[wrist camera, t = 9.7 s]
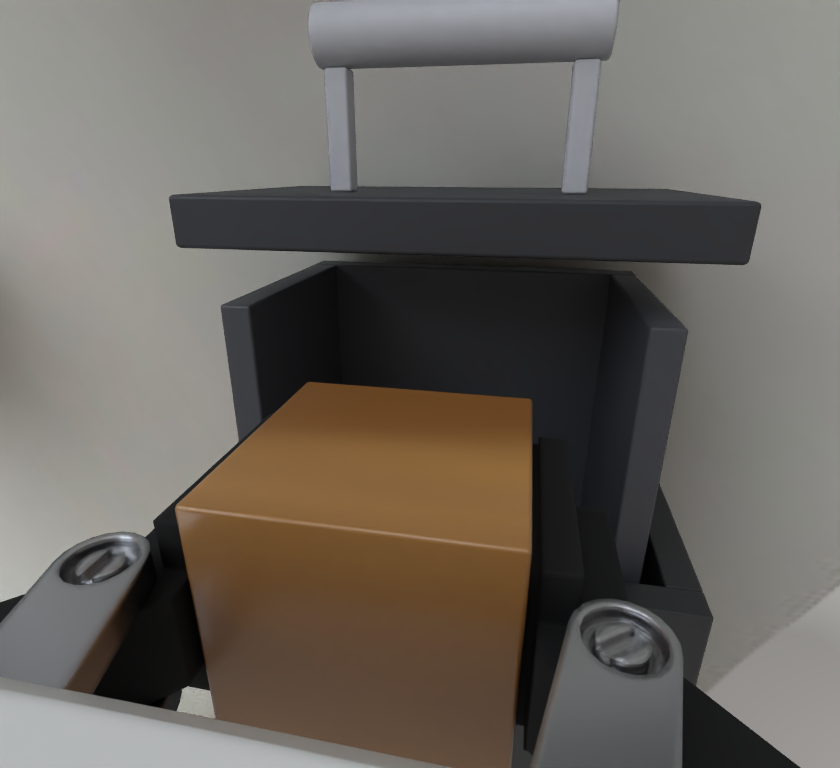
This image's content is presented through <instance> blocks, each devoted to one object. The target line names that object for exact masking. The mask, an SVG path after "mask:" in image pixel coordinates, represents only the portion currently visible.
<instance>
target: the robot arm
mask: <svg viewBox="0 0 840 768" xmlns="http://www.w3.org/2000/svg"><path fill="white" fill-rule="evenodd" d="M273 414H274V413H271V414H269V415H268V416H267V417H266V418H265V419H263V420H262V421H261V422H260V423H259V424H258V425H257V426H256V427H255V428H254V429H253V430H251V431H250V432H249V433H248V434H247V435H246V436H245V437H244V438H243V439H242V440H241V441H240V442H238V443H237V444H236V445H235V446H234V447H233V448H232V449H231V450H230V451H229V452H228V453H226V454H225V455H224V456H223V457H222V458H221V459H220V460H219V461H218V462H217V463H216V464H215V465H213V466H212V467H211V468H210V469H209V470H208V471H207V472H206V473H205V474H204V475H203V476H201V477H200V478H199V479H198V480H197V481H196V482H195V483H194V484H193V485H192V486H191V487H190V488H188V489H187V490H186V491H185V492H184V493H183V494H182V495H181V496H180V497H179V498H178V499H176V500H175V501H174V502H173V503H172V504H171V505H170V506H169V507H168V508H167V509H166V510H165V511H163V512H162V513H161V514H160V515H159V516H158V517H157V518H156V519H155V520H154V521H153V522H154V527H155V529H154V530H153V531H151V532H150V533H149V534H148V535H147V536H146V537H144V536H142V535H139V534H136V533H131V532H115V533H107V534H103V535H100V536H96V537H92V538H90V539H88V540H85V541H83V542H81V543H78V544H76V545H75V546H73V547H71V548H70V549H68V550H67V551H65V552H64V553H63V554H61V555H60V556H59V557H58V558H57V559H56V560H55V561H54V562H53V563H52V564H51V565H50V566H49V568H48V569H47V570H46V571H45V572H44V573H43V575H42V576H41V577H40V578H39V579H38V580H37V581H36V583H35V584H34V585H33V586H32V587H31V588H30V589H29V591H28V592H27V593H26V594H24V595H21V596H18V597H15V598H12V599H9V600H6V601H3V602H0V768H452V767H447V766H442V765H437V764H432V763H428V762H423V761H418V760H413V759H408V758H403V757H399V756H394V755H389V754H384V753H379V752H375V751H370V750H365V749H360V748H355V747H350V746H346V745H341V744H336V743H331V742H326V741H321V740H316V739H312V738H307V737H302V736H297V735H292V734H287V733H282V732H277V731H272V730H267V729H262V728H257V727H252V726H247V725H242V724H237V723H232V722H227V721H222V720H217V719H212V718H207V717H202V716H197V715H192V714H187V713H182V712H177V711H176V710H177V708H178V705H179V703H180V698H181V694H182V690H181V689H183V688H185V687H187V686H189V687H194V688H200V689H205V690H210V687H209V681H208V676H207V671H206V666H205V661H204V656H203V651H202V646H201V640H200V635H199V630H198V625H197V620H196V615H195V610H194V604H193V599H192V594H191V589H190V584H189V579H188V574H187V569H186V563H185V558H184V553H183V548H182V543H181V538H180V533H179V528H178V522H177V517H176V512H175V507H176V505H177V504H178V503H179V502H180V501H181V500H182V499H183V498H184V497H185V496H186V495H187V494H189V493H190V492H191V491H192V490H193V489H194V488H195V487H196V486H197V485H198V484H199V483H200V482H201V481H202V480H204V479H205V478H206V477H207V476H208V475H209V474H210V473H211V472H212V471H213V470H214V469H215V468H216V467H217V466H218V465H220V464H221V463H222V462H223V461H224V460H225V459H226V458H227V457H228V456H229V455H230V454H231V453H232V452H233V451H235V450H236V449H237V448H238V447H239V446H240V445H241V444H242V443H243V442H244V441H245V440H246V439H247V438H248V437H250V436H251V435H252V434H253V433H254V432H255V431H256V430H257V429H258V428H259V427H260V426H261V425H262V424H263V423H264V422H266V421H267V420H268V419H269V418H270V417H271V416H272V415H273ZM515 725H520V726H524V741H523V750H524V751H529V753H530V754H531V755H532V756H533V757H532V761H531V765H530V768H800V767H799V766H797V765H796V764H795V763H793V762H792V761H791V760H790V759H788V758H787V757H786V756H785V755H783V754H782V753H780V752H779V751H778V750H777V749H775V748H774V747H773V746H772V745H770V744H769V743H768V742H766V741H765V740H764V739H763V738H761V737H760V736H759V735H758V734H756V733H755V732H754V731H752V730H751V729H750V728H749V727H747V726H746V725H745V724H743V723H742V722H741V721H739V720H738V719H737V718H736V717H734V716H733V715H732V714H730V713H729V712H728V711H726V710H725V709H724V708H723V707H721V706H720V705H719V704H718V703H716V702H715V701H714V700H712V699H711V698H710V697H709V696H707V695H706V694H705V693H703V692H702V691H701V690H700V689H698V688H697V687H696V686H694V685H693V684H692V683H691V682H689V681H688V680H687V679H685V678H684V677H683V654H682V649H681V644H680V642H679V640H678V639H677V637H676V635H675V634H674V632H673V630H672V629H671V628H670V627H669V626H668V625H667V624H666V623H665V622H664V621H663V620H662V619H661V618H659V617H658V616H656V615H655V614H653V613H652V612H650V611H649V610H647V609H645V608H643V607H641V606H638V605H636V604H633V603H631V602H628V599H627V594H626V590H625V585H624V580H623V576H622V571H621V567H620V562H619V558H618V553H617V548H616V544H615V539H614V535H613V530H612V526H611V521H610V516H609V513H608V510H607V509H603V508H594V507H585V506H576V504H575V496H574V488H573V480H572V472H571V464H570V456H569V448H568V440H567V439H558V438H547V437H539V441H538V444H534V443H532V559H531V570H530V580H529V590H528V601H527V611H526V621H525V631H524V642H523V652H522V662H521V673H520V683H519V693H518V703H517V714H516V724H515Z"/></svg>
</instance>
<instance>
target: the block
mask: <svg viewBox="0 0 840 768" xmlns="http://www.w3.org/2000/svg"><path fill="white" fill-rule="evenodd" d="M532 435H533V402H532V400H531V399H526V398H513V397H500V396H487V395H474V394H461V393H448V392H435V391H422V390H409V389H396V388H382V387H369V386H356V385H343V384H330V383H317V382H307V383H306V384H305V385H304V386H303V387H302V388H301V389H300V390H299V391H298V392H297V393H296V394H294V395H293V396H292V397H291V398H290V399H289V400H288V401H287V402H286V403H285V404H284V405H283V406H282V407H281V408H279V409H278V410H277V411H276V412H275V413H274V414H273V415H272V416H271V417H270V418H269V419H268V420H267V421H266V422H264V423H263V424H262V425H261V426H260V427H259V428H258V429H257V430H256V431H255V432H254V433H253V434H252V435H251V436H250V437H248V438H247V439H246V440H245V441H244V442H243V443H242V444H241V445H240V446H239V447H238V448H237V449H236V450H235V451H233V452H232V453H231V454H230V455H229V456H228V457H227V458H226V459H225V460H224V461H223V462H222V463H221V464H220V465H218V466H217V467H216V468H215V469H214V470H213V471H212V472H211V473H210V474H209V475H208V476H207V477H206V478H205V479H204V480H202V481H201V482H200V483H199V484H198V485H197V486H196V487H195V488H194V489H193V490H192V491H191V492H190V493H189V494H187V495H186V496H185V497H184V498H183V499H182V500H181V501H180V502H179V503H178V504H177V505H176V507H175V512H176V517H177V522H178V528H179V533H180V538H181V543H182V548H183V553H184V558H185V563H186V569H187V574H188V579H189V584H190V589H191V594H192V599H193V604H194V610H195V615H196V620H197V625H198V630H199V635H200V640H201V646H202V651H203V656H204V661H205V666H206V671H207V676H208V681H209V687H210V692H211V697H212V702H213V707H214V712H215V717H216V719H217V720H222V721H227V722H232V723H237V724H242V725H247V726H252V727H257V728H262V729H267V730H272V731H277V732H282V733H287V734H292V735H297V736H302V737H307V738H312V739H316V740H321V741H326V742H331V743H336V744H341V745H346V746H350V747H355V748H360V749H365V750H370V751H375V752H379V753H384V754H389V755H394V756H399V757H403V758H408V759H413V760H418V761H423V762H428V763H432V764H437V765H442V766H447V767H452V768H511V765H512V755H513V745H514V734H515V724H516V714H517V703H518V693H519V683H520V673H521V662H522V652H523V642H524V631H525V621H526V611H527V601H528V590H529V580H530V570H531V559H532Z"/></svg>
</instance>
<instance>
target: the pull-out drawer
mask: <svg viewBox="0 0 840 768" xmlns="http://www.w3.org/2000/svg"><path fill="white" fill-rule="evenodd" d="M618 12H619V0H346V1H328V2H315V3H314V4H312V6H311V8H310V11H309V17H308V33H309V41H310V46H311V51H312V54H313V57H314V60H315V62H316V64H317V65H318V67H319V68H321V69H323V70H325V71H324V73H325V91H326V109H327V127H328V145H329V163H330V181H331V186H296V187H281V188H267V189H252V190H237V191H223V192H208V193H193V194H178V195H172V196H170V197H169V201H170V208H171V214H172V220H173V226H174V232H175V239H176V244H177V246H178V247H181V248H205V249H238V250H270V251H302V252H335V253H367V254H399V255H432V256H464V257H496V258H529V259H561V260H593V261H626V262H658V263H690V264H723V265H745V264H747V263H748V262H749V259H750V254H751V250H752V246H753V241H754V237H755V232H756V228H757V223H758V219H759V214H760V210H761V204H760V203H759V202H755V201H748V200H741V199H734V198H727V197H720V196H712V195H705V194H698V193H691V192H684V191H677V190H669V189H602V188H588V180H589V171H590V162H591V153H592V144H593V134H594V125H595V116H596V107H597V98H598V89H599V80H600V71H601V61H606V60H608V59H609V58H610V56H611V53H612V50H613V45H614V40H615V34H616V28H617V20H618ZM547 62H574V65H573V69H572V80H571V91H570V102H569V112H568V123H567V134H566V144H565V155H564V166H563V177H562V187H561V188H479V187H357V161H356V135H355V109H354V82H353V72H352V71H351V70H350V69H360V68H392V67H423V66H454V65H485V64H516V63H547ZM221 312H222V319H223V327H224V334H225V341H226V349H227V356H228V363H229V371H230V378H231V385H232V393H233V400H234V407H235V415H236V422H237V429H238V437H239V442H240V441H241V440H242V439H243V438H244V437H245V436H246V435H247V434H248V433H249V432H250V431H251V430H253V429H254V428H255V427H256V426H257V425H258V424H259V423H260V422H261V421H262V420H263V419H265V418H266V417H267V416H268V415H269V414H271V413H275V412H276V411H277V410H278V409H279V408H281V407H282V406H283V405H284V404H285V403H286V402H287V401H288V400H289V399H290V398H291V397H292V396H293V395H294V394H296V393H297V392H298V391H299V390H300V389H301V388H302V387H303V386H304V385H305V384H306V383H307V382H317V383H330V384H343V385H356V386H369V387H382V388H396V389H409V390H422V391H435V392H448V393H461V394H474V395H487V396H500V397H513V398H526V399H531V400H532V402H533V435H532V443H534V444H538V441H539V437H547V438H558V439H567V440H568V448H569V456H570V464H571V472H572V480H573V488H574V496H575V504H576V506H585V507H594V508H603V509H607V510H608V513H609V516H610V521H611V526H612V530H613V535H614V539H615V544H616V548H617V553H618V558H619V562H620V567H621V571H622V576H623V580H624V582H630V583H638V584H640V579H641V574H642V568H643V563H644V558H645V553H646V548H647V542H648V537H649V532H650V527H651V522H652V517H653V511H654V506H655V501H656V496H657V491H658V485H659V480H660V475H661V470H662V465H663V459H664V454H665V449H666V444H667V439H668V433H669V428H670V423H671V418H672V413H673V407H674V402H675V397H676V392H677V387H678V382H679V376H680V371H681V366H682V361H683V356H684V350H685V345H686V340H687V335H688V330H687V328H686V327H685V326H684V325H683V324H682V323H681V322H680V321H679V320H678V319H677V318H676V317H675V316H674V315H673V314H672V313H671V312H670V311H669V310H668V309H667V308H666V307H665V306H664V304H663V303H662V302H661V301H660V300H659V299H658V298H657V297H656V296H655V295H654V294H653V293H652V292H651V291H650V290H649V289H648V288H647V287H646V286H645V285H644V284H643V283H642V282H641V281H640V280H639V279H638V278H637V277H636V275H635V274H634V273H633V272H632V271H612V270H583V269H553V268H524V267H494V266H465V265H435V264H406V263H376V262H347V261H322V262H320V263H317V264H316V265H313V266H311V267H309V268H306V269H304V270H302V271H299V272H297V273H295V274H292V275H290V276H288V277H286V278H283V279H281V280H279V281H276V282H274V283H272V284H269V285H267V286H265V287H262V288H260V289H258V290H256V291H253V292H251V293H249V294H246V295H244V296H242V297H239V298H237V299H235V300H232V301H230V302H228V303H226V304H223V305H221Z"/></svg>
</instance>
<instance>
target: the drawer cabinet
mask: <svg viewBox="0 0 840 768" xmlns="http://www.w3.org/2000/svg"><path fill="white" fill-rule="evenodd" d="M624 585H625V590H626V594H627V599H628V602H631V603H633V604H636V605H638V606H641V607H643V608H645V609H647V610H649V611H650V612H652V613H653V614H655V615H656V616H658V617H659V618H661V619H662V620H663V621H664V622H665V623H666V624H667V625H668V626H669V627H670V628H671V629H672V630H673V632H674V634H675V635H676V637H677V639H678V640H679V642H680V644H681V649H682V654H683V677H684V678H685V679H687V680H688V681H689V682H691V683H692V684H693V685H694V686H696V682H697V679H698V675H699V671H700V667H701V664H702V660H703V656H704V652H705V648H706V645H707V641H708V637H709V633H710V630H711V626H712V622H713V616H712V613H711V611H710V608H709V606H708V603H707V601H706V599H705V596H704V594H703V592H702V588H701V586H700V583H699V581H698V578H697V576H696V573H695V571H694V569H693V566H692V564H691V561H690V559H689V556H688V554H687V551H686V549H685V546H684V544H683V541H682V539H681V536H680V534H679V531H678V529H677V526H676V524H675V521H674V519H673V516H672V514H671V511H670V509H669V506H668V504H667V502H666V499H665V497H664V494H663V492H662V489H661V487H660V484H659V485H658V491H657V496H656V501H655V506H654V511H653V517H652V522H651V527H650V532H649V537H648V542H647V548H646V553H645V558H644V563H643V568H642V574H641V579H640V584H638V583H630V582H624ZM523 741H524V726H520V725H515V734H514V745H513V755H512V765H511V768H530V765H531V761H532V757H533V756H532V755H531V754H530V753H529V751H524V750H523Z"/></svg>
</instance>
